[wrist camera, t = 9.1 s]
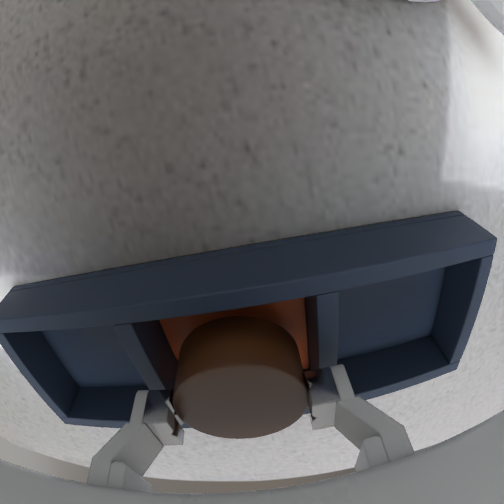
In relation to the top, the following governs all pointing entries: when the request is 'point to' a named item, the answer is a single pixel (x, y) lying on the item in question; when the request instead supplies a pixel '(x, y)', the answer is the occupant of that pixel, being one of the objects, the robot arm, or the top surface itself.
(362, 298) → the grid
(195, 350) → the cylinder
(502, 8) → the mug
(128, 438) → the robot arm
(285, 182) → the top surface
